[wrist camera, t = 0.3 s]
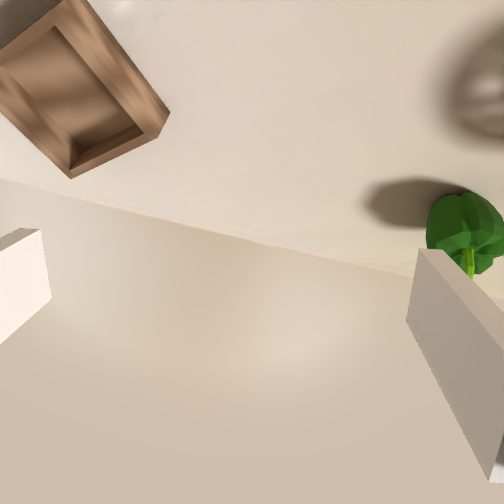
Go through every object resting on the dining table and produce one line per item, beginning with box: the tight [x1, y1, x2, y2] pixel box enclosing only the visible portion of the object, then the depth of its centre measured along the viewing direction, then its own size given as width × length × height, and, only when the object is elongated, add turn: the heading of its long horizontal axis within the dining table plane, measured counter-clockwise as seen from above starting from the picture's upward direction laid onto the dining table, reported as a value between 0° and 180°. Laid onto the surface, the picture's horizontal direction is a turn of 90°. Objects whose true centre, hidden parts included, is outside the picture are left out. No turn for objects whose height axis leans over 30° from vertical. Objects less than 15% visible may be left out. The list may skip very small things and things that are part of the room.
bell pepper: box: [426, 192, 504, 279], centre depth 48 cm, size 8×8×10 cm
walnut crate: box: [0, 0, 170, 179], centre depth 45 cm, size 14×14×5 cm
